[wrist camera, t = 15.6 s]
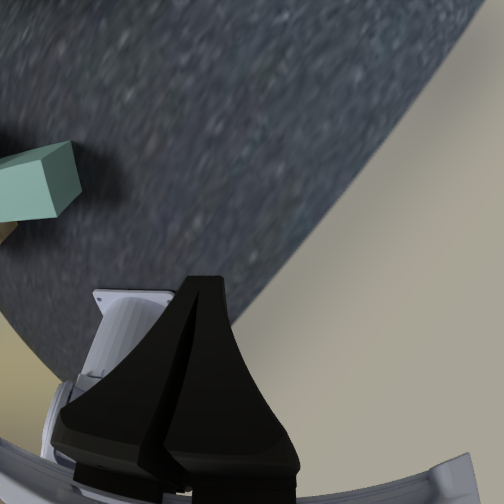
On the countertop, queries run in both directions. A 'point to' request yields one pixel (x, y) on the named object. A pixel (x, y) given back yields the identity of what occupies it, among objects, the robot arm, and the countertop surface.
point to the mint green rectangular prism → (38, 183)
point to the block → (6, 229)
